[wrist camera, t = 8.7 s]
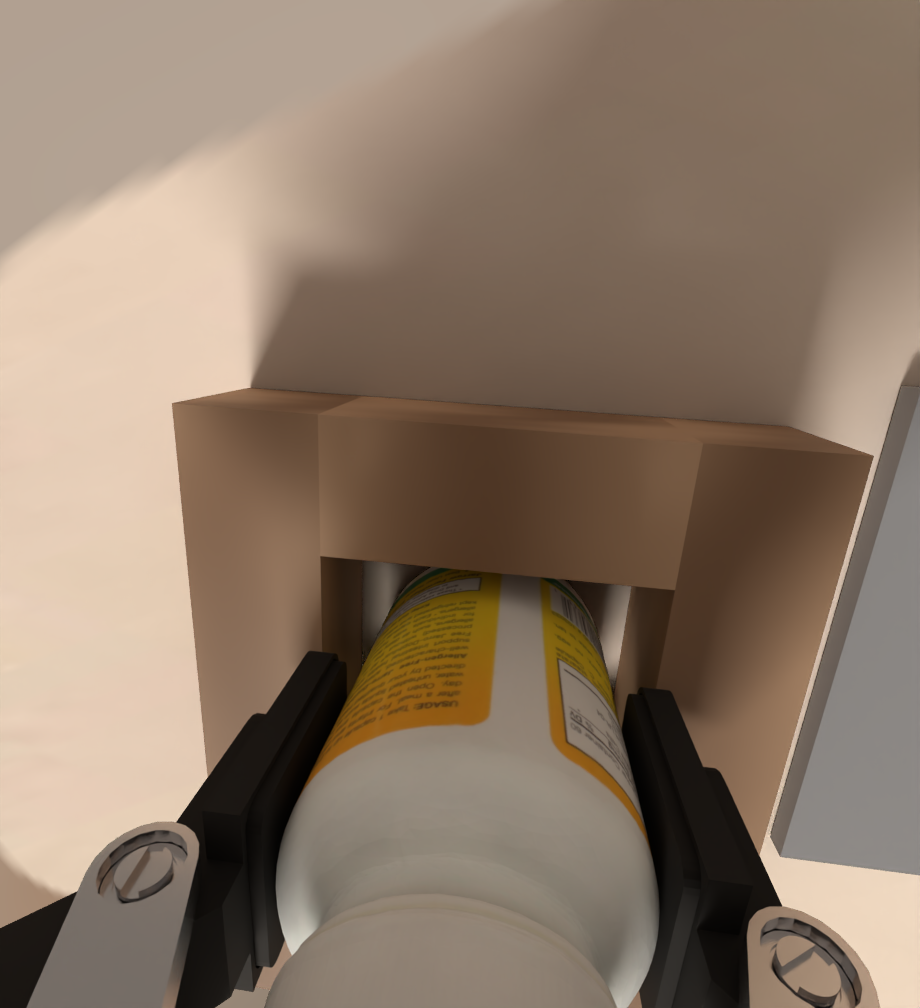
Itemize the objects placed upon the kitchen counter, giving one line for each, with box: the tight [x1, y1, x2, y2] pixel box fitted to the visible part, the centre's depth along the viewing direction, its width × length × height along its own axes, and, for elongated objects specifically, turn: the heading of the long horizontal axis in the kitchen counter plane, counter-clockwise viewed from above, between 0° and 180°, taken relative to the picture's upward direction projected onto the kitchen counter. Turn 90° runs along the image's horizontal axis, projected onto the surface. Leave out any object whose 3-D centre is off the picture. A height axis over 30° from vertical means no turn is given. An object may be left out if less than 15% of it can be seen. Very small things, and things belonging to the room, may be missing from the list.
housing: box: [172, 388, 874, 1008], centre depth 13 cm, size 12×15×3 cm
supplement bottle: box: [264, 567, 660, 1008], centre depth 10 cm, size 5×5×10 cm
